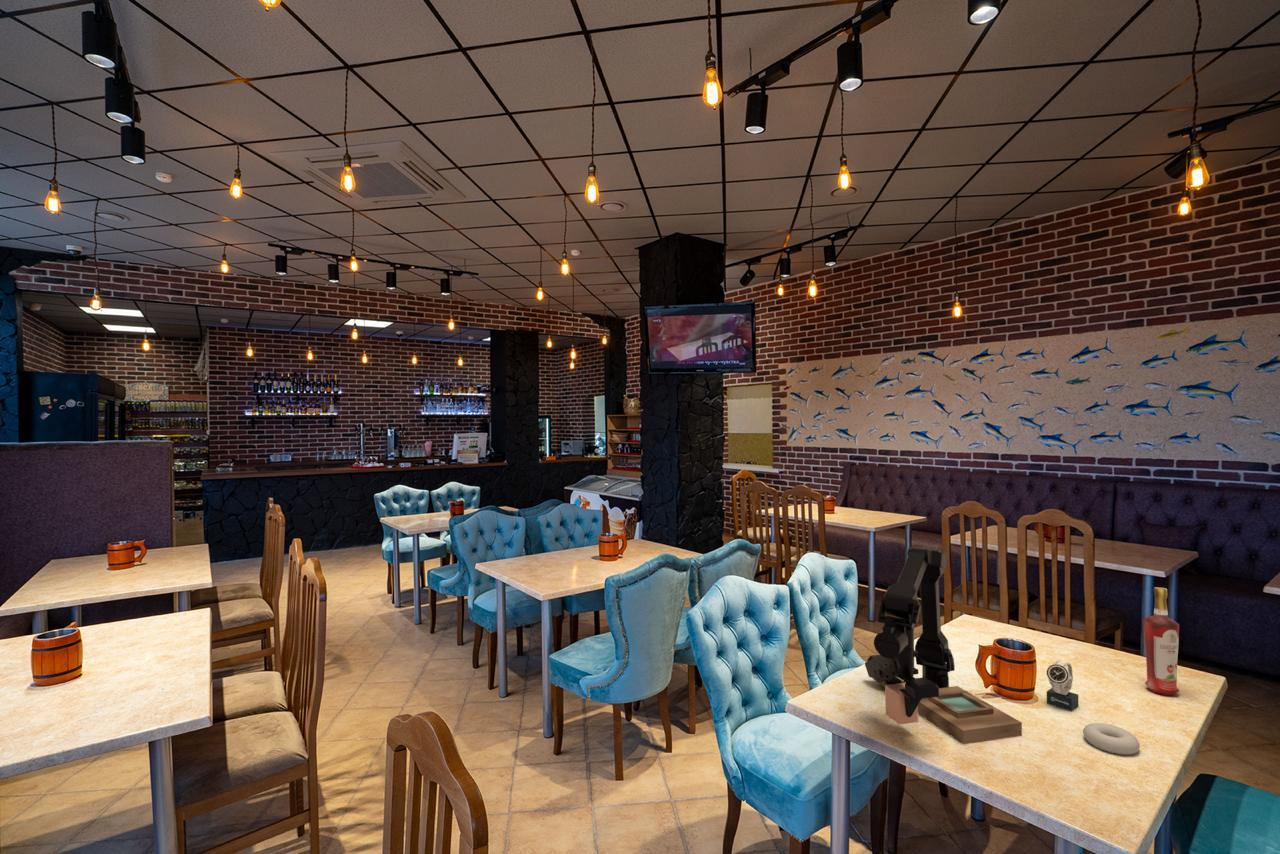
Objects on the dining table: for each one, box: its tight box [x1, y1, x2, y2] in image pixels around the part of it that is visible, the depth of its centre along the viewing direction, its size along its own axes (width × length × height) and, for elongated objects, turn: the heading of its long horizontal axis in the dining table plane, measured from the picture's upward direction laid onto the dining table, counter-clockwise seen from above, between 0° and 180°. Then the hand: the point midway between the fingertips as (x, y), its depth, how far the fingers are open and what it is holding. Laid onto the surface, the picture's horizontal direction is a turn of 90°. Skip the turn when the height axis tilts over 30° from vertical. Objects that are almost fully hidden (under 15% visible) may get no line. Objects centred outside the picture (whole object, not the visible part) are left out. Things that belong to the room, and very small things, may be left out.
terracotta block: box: [884, 683, 919, 725], centre depth 138 cm, size 5×5×7 cm
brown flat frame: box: [918, 685, 1023, 744], centre depth 144 cm, size 20×16×4 cm
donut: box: [1082, 722, 1141, 756], centre depth 132 cm, size 10×4×10 cm
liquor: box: [1142, 586, 1180, 696], centre depth 158 cm, size 7×7×28 cm
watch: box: [1046, 660, 1079, 712], centre depth 151 cm, size 6×8×11 cm
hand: (901, 711), depth 138 cm, fingers closed on terracotta block, 5 cm apart
